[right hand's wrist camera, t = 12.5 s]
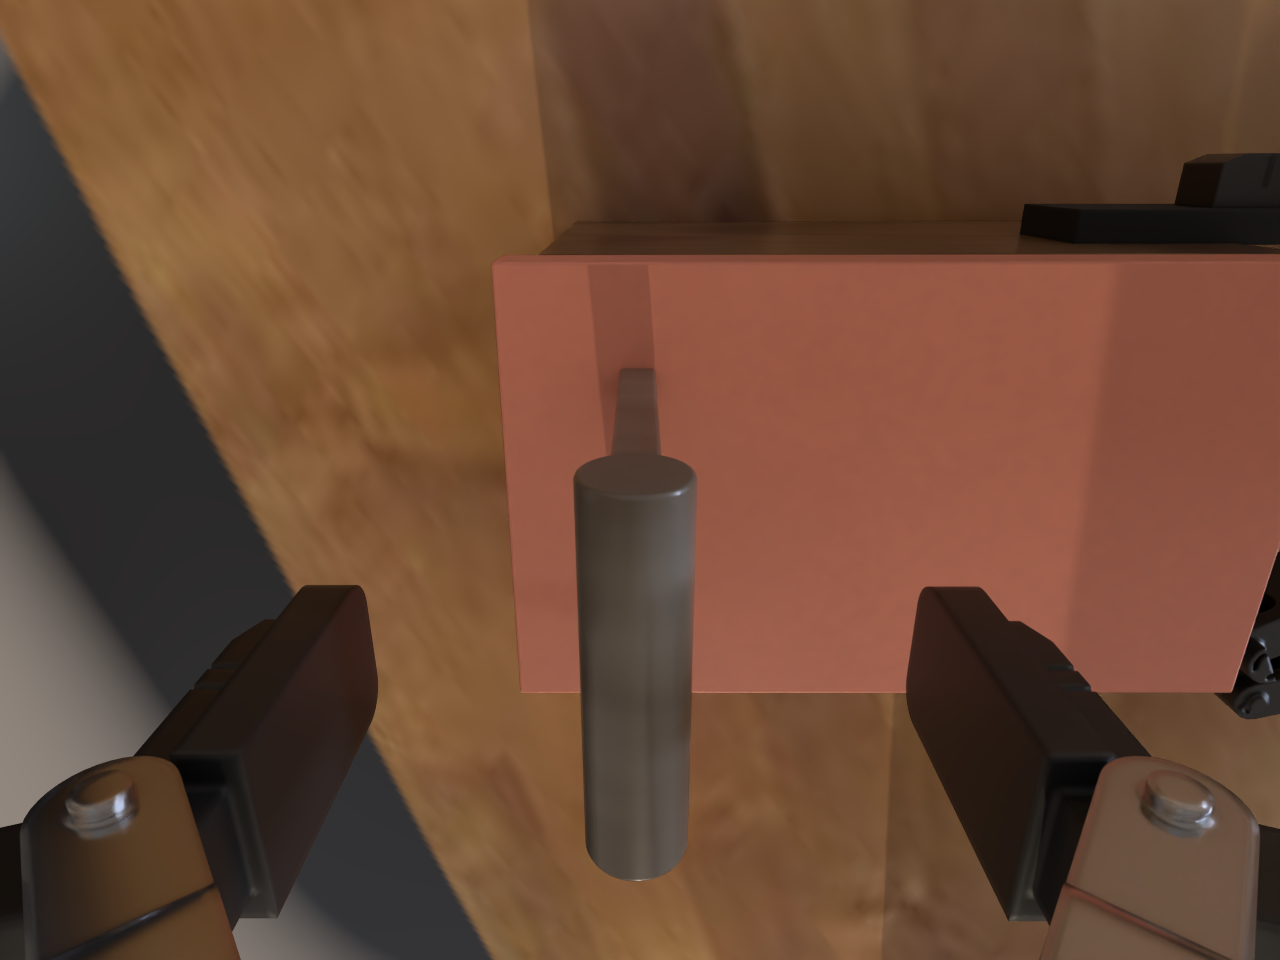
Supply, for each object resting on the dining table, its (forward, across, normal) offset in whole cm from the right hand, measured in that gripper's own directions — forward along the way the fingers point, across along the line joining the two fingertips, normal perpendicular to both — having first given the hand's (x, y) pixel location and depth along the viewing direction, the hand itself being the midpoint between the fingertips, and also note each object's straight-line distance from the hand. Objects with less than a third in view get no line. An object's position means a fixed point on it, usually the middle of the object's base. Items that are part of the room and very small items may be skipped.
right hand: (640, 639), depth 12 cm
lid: (+6, -5, 0) cm, 8 cm away
